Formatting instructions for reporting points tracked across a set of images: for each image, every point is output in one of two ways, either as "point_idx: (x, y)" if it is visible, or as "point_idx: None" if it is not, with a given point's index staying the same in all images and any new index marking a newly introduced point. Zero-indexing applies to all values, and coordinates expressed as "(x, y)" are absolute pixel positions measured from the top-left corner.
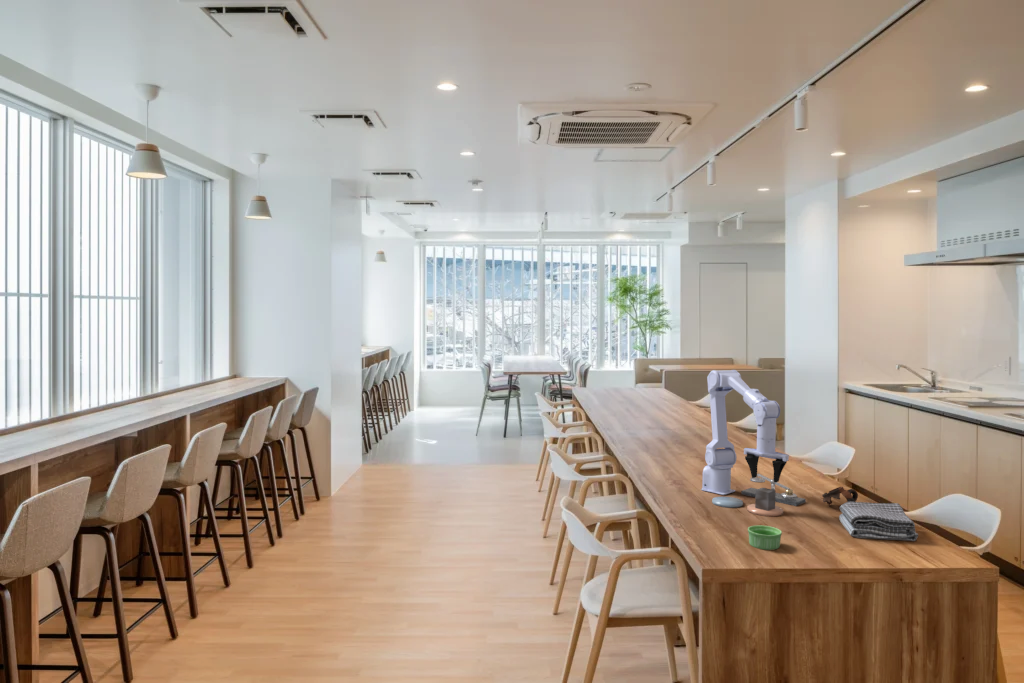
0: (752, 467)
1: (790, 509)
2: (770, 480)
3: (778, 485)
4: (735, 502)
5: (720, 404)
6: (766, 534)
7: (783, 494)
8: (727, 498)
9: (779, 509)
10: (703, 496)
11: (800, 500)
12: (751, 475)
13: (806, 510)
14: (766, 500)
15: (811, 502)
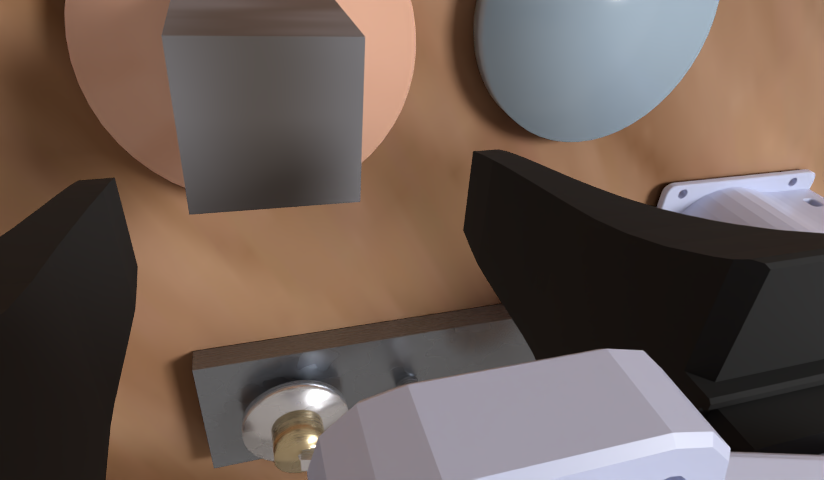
0: (568, 211)
1: (160, 262)
2: None
3: None
4: (534, 17)
5: None
6: None
7: (322, 401)
8: (621, 79)
9: (145, 126)
10: (780, 52)
11: (210, 425)
12: (518, 157)
13: None
14: (193, 7)
15: (191, 471)
